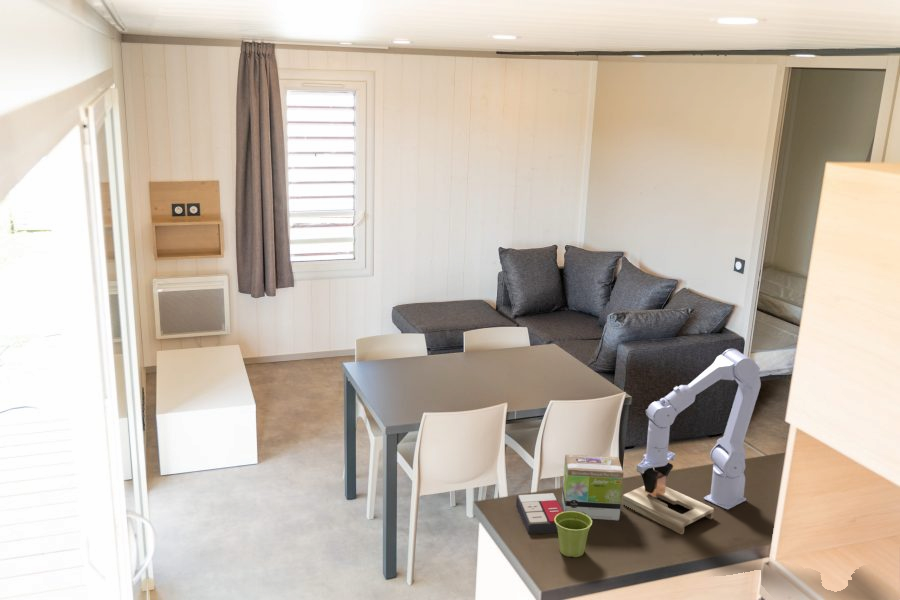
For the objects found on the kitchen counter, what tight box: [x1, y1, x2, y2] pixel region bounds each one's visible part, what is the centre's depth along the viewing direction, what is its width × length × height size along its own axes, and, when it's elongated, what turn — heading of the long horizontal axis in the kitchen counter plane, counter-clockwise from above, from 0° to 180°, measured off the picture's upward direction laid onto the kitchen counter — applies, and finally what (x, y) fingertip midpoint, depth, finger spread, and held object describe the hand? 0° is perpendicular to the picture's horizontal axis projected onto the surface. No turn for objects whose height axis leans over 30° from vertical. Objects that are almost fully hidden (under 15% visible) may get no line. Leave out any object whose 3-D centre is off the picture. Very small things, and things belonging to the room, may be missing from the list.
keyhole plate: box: [621, 485, 715, 535], centre depth 220 cm, size 14×20×3 cm
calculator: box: [515, 492, 564, 535], centre depth 216 cm, size 11×4×15 cm
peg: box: [644, 470, 668, 502], centre depth 223 cm, size 4×4×9 cm
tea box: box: [561, 454, 624, 522], centre depth 219 cm, size 15×10×15 cm, turn 87°
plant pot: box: [554, 511, 593, 558], centre depth 200 cm, size 9×9×9 cm
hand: (654, 489), depth 223 cm, fingers closed on peg, 4 cm apart
